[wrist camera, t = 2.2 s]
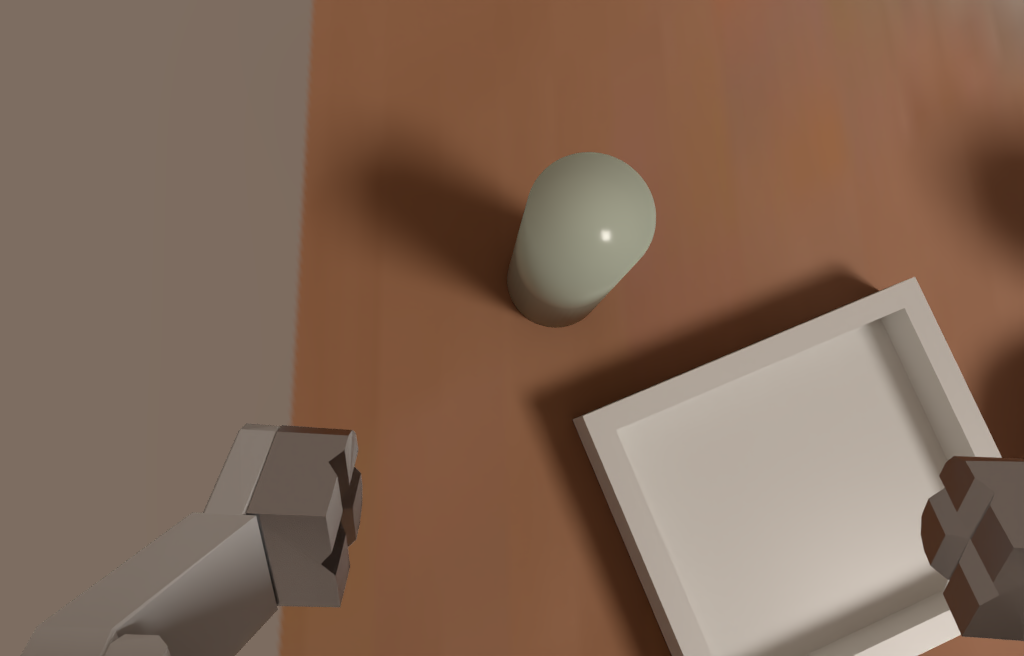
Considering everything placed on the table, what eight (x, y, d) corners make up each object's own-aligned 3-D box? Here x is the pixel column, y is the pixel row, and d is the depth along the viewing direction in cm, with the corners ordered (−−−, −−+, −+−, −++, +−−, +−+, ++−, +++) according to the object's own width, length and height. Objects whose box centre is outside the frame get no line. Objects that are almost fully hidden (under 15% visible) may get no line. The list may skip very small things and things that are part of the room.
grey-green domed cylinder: (529, 341, 43) (556, 298, 32) (492, 253, 44) (505, 179, 32) (617, 306, 44) (676, 250, 32) (579, 220, 44) (624, 134, 33)
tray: (700, 724, 41) (722, 748, 38) (572, 419, 43) (582, 416, 39) (1014, 575, 43) (1063, 585, 40) (879, 290, 45) (914, 276, 42)
